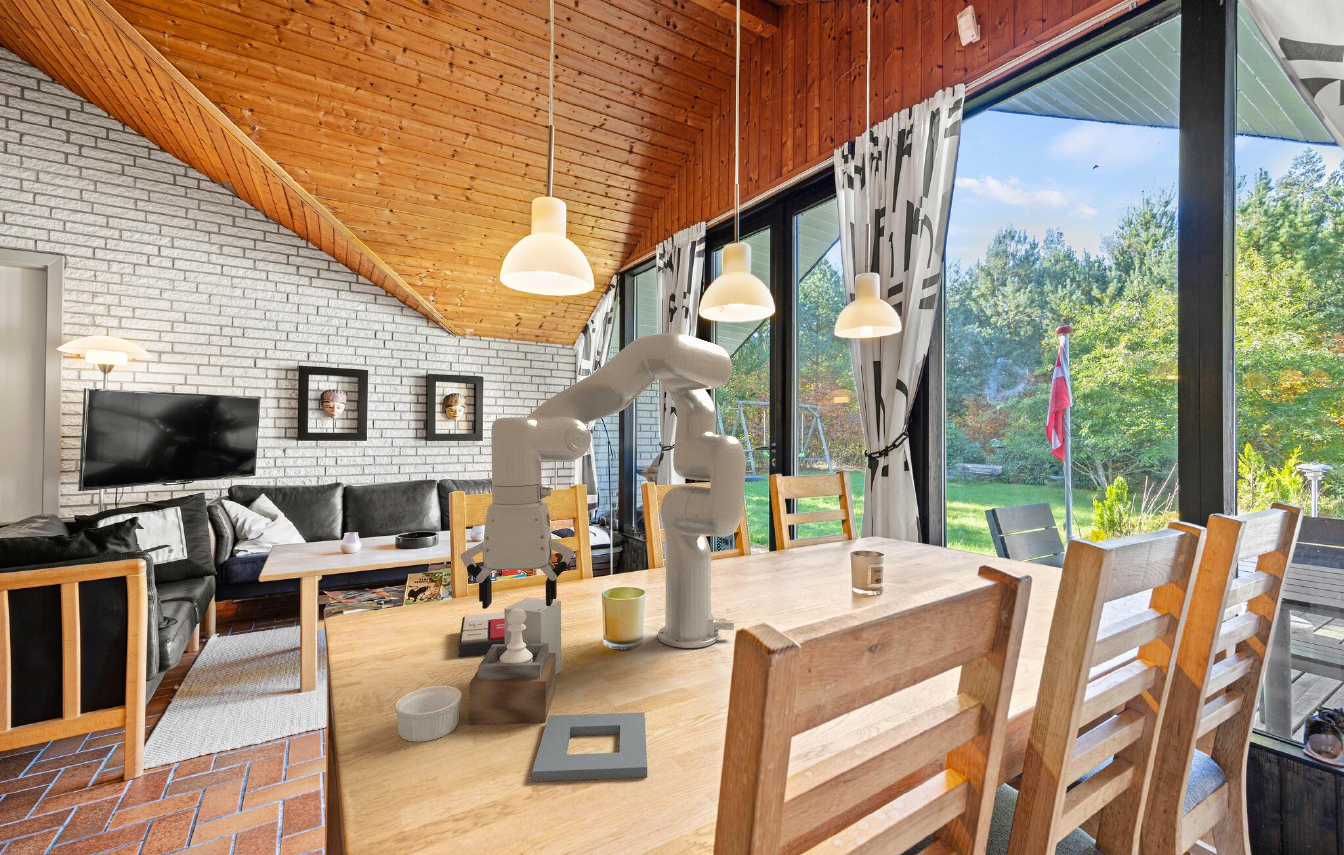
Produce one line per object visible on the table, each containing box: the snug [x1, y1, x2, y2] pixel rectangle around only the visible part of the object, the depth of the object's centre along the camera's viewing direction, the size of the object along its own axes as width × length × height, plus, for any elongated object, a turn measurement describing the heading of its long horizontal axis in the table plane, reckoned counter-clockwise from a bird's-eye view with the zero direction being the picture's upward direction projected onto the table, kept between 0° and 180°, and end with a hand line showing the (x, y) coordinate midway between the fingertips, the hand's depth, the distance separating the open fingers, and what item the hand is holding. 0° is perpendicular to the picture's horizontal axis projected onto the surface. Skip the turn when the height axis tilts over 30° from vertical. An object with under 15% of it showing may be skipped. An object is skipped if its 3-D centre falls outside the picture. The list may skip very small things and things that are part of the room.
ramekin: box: [394, 685, 463, 742], centre depth 82 cm, size 9×9×4 cm
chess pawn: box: [500, 608, 533, 663], centre depth 89 cm, size 5×5×9 cm
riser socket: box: [468, 643, 556, 726], centre depth 89 cm, size 11×11×8 cm
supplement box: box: [503, 597, 562, 676], centre depth 100 cm, size 7×7×13 cm
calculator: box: [458, 612, 505, 659], centre depth 117 cm, size 11×4×15 cm
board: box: [531, 711, 648, 782], centre depth 77 cm, size 14×14×1 cm
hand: (518, 604), depth 90 cm, fingers open, 9 cm apart
